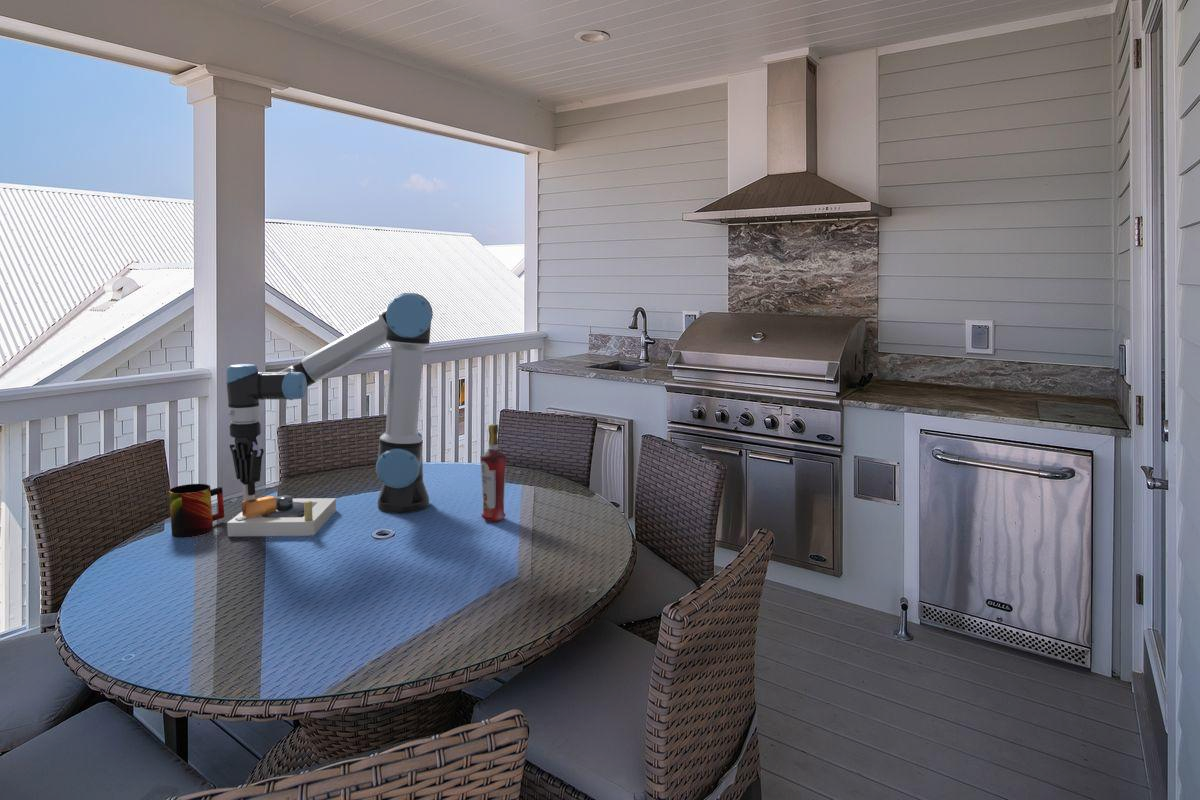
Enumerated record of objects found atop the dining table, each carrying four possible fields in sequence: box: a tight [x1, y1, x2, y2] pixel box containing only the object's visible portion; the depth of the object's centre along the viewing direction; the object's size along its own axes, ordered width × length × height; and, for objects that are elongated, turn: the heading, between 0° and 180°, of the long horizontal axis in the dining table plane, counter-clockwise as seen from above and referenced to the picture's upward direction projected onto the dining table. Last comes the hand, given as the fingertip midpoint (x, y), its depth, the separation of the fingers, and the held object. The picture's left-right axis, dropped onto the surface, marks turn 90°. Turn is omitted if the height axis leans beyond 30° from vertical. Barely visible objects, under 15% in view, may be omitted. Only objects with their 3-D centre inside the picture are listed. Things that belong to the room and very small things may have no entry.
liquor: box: [480, 423, 507, 523], centre depth 205 cm, size 7×7×28 cm
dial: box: [241, 495, 304, 518], centre depth 199 cm, size 17×12×6 cm
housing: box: [226, 497, 337, 537], centre depth 201 cm, size 22×22×9 cm
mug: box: [168, 483, 225, 539], centre depth 194 cm, size 10×14×12 cm
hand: (249, 505), depth 197 cm, fingers closed
